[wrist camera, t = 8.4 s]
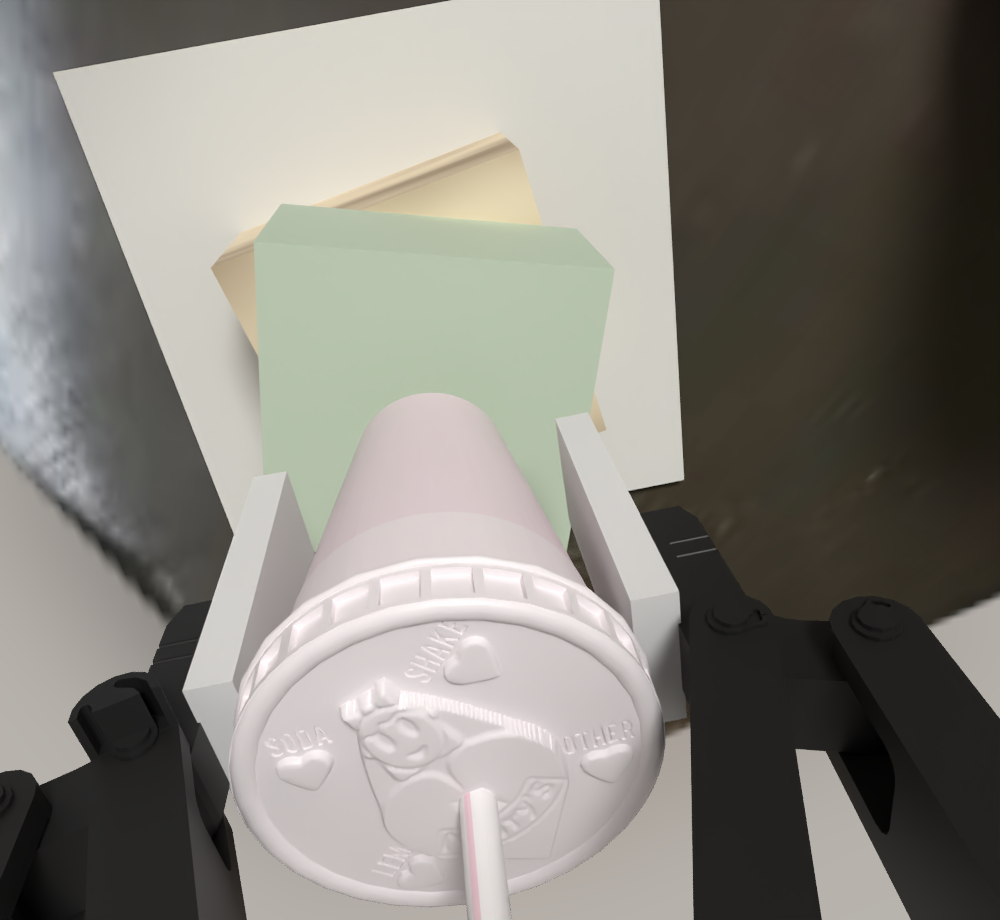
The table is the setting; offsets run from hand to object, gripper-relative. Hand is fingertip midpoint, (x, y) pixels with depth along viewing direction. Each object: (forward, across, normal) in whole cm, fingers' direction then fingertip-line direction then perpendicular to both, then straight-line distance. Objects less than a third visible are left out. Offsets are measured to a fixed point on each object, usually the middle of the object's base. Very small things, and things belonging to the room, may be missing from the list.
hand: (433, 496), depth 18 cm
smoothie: (+2, 0, 0) cm, 2 cm away
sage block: (+9, 0, 0) cm, 9 cm away
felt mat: (+15, 0, 0) cm, 15 cm away
